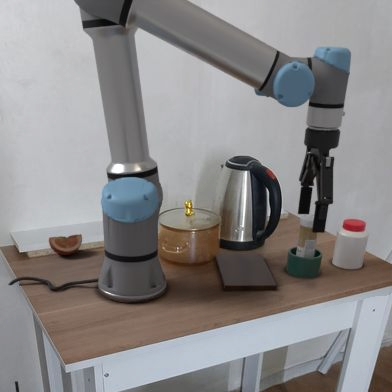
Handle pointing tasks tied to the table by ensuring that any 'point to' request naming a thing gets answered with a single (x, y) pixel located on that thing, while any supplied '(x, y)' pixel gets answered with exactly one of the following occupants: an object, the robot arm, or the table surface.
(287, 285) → the table surface
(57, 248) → the fruit slice
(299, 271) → the cup
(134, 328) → the table surface
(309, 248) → the sprinkles bottle
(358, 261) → the pill bottle
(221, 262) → the board
